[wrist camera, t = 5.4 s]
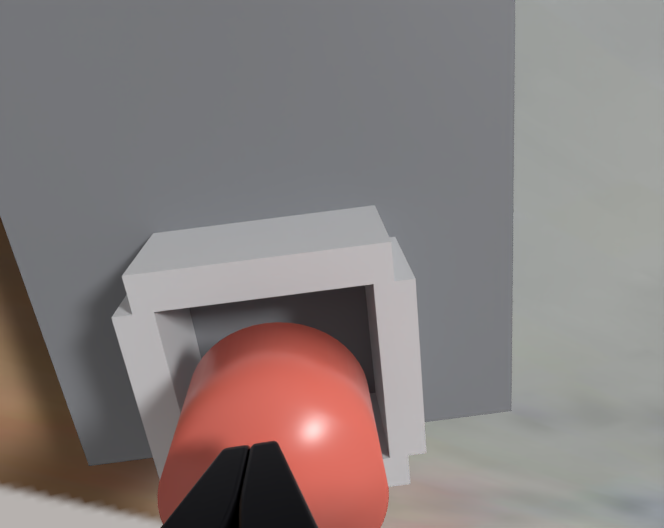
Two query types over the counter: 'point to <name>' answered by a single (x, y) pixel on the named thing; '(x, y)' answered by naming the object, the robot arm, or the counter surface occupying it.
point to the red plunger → (284, 421)
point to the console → (262, 198)
